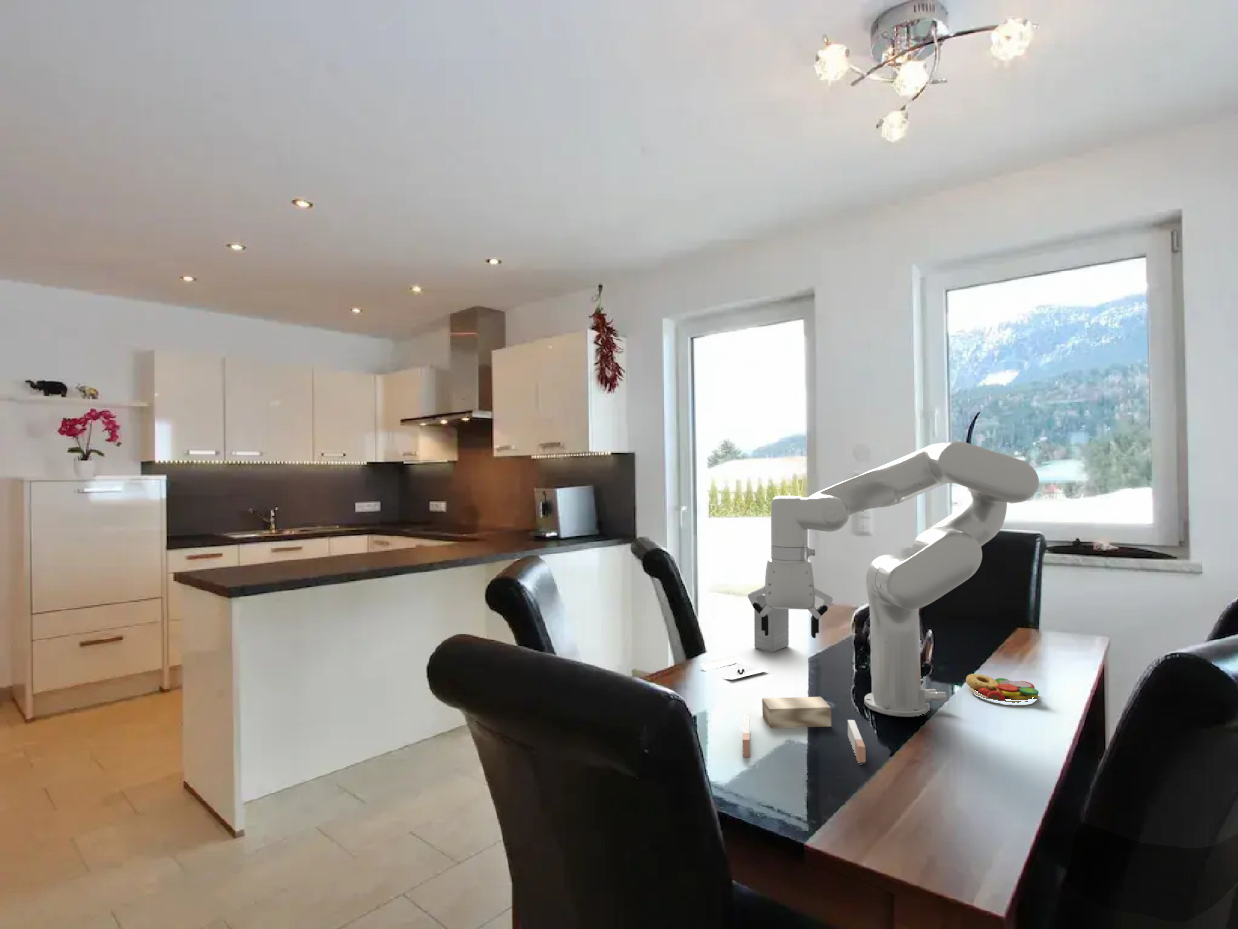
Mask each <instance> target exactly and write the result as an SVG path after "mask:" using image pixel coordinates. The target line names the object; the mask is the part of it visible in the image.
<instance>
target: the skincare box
mask: <svg viewBox="0 0 1238 929" xmlns="http://www.w3.org/2000/svg"><path fill="white" fill-rule="evenodd" d="M756 600H757V602H758V603H759V605H760V606H761V607H763V606H764V605H765V604H766V601H765V594H763V595H760V596H758V597H757V598H756ZM753 609H754V608H753ZM789 610H790V609H779V608H772V609H771V610H770V611H769V612H768V613H767V615H768V635H767V636H765V631H761V615H760V614H759V613H758V612H757V611H756V610H755V609H754V614H753V615H754V623H753V624H754V649H758V650H763V651H767V652H770V653H774V652H776V651H779V650H781V649H784V648H786V647H789V643H790V642H789V636H790V635H789V628H790V627H789V626H790V625H789V618H790V617H789V616H790V614H789Z"/></svg>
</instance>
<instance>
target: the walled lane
mask: <svg viewBox="0 0 1238 929" xmlns="http://www.w3.org/2000/svg"><path fill="white" fill-rule="evenodd" d="M750 717H751V716H750V714H746V713H745V714H743V717H742V718H743V720H742V757H744V758H751V749H750V748H751V720H750V719H751V718H750ZM847 737H848V740H849V742H851V743H850V746H851V745H852V746H851V748H852V751H853V750H854V751H853V754H854V753H855V754H854V756H856V757H855V759H856V762H857V761H858V762H857V764H858V763H860V762H866V761H867V760H866V759H867V758H866V745H865V743H864V740H863V737H862V735H861V732H860V731H859V728H858V725H857V723H856V720H855V719H847Z"/></svg>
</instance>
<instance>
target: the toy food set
mask: <svg viewBox="0 0 1238 929" xmlns="http://www.w3.org/2000/svg"><path fill="white" fill-rule="evenodd" d="M965 683H966V685H968V686H969V690H970V692H971V693H972V694H973V693H975V694H976V695H978V696H981V697H983V698H986V699H993V700H998V701H1005V702H1012V703H1015V702H1017V703H1019V702H1021V701H1006V700H1005V699H1011V700H1028V699H1032V697H1034V698H1033V699H1038V698H1040V696H1038V695H1039V693H1040V692H1039V690H1038V689H1035V688H1036V687H1035V685H1034V684H1033V683H1031V682H1028V681H1024V680H1011V679H1010V680H1009V679H1008V678H1003V677H998V678H996V679H994V678H992V677H990V676H988V675H985V674H980V673H970V674H968V675H967V676H966V678H965ZM975 690H976V691H978V693H977V692H976V691H975ZM979 693H980V694H979ZM981 694H982V695H981ZM1038 700H1039V699H1038ZM1025 702H1028V701H1025Z"/></svg>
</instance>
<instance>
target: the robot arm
mask: <svg viewBox="0 0 1238 929" xmlns="http://www.w3.org/2000/svg"><path fill="white" fill-rule="evenodd" d="M946 484H956V485H960V486H962V487H965V488H967V495H966V498H965V501H964V503H963V504H962V505H961V506H960V507H959V508H958V509H956V510H955V511H954V512H952V513H951V514H949V515H948V516H946V517H945V518H944V519H942V520H940V521H939V522H937V523H935V524H934V525H932V526H930V527H929V528H928V529H926V530H924V531H923V532H921V533H920V534H919V535H918V536H917V537H916V538H915V539H914V541H913V544H912V547H911V552H912V556H910V557H908V558H907V557H903V556H900V555H897V554H891V553H890V554H889V553H888V554H883V555H880V556H878V557H876V558H875V559H873V560H872V561H871V563H870V564H869V565H868V567H867V571H866V575H865V584H866V593H867V598H868V606H869V618H870V619H869V621H870V622H869V625H870V627H869V628H870V629H869V630H870V665H871V666H870V668H871V669H870V671H871V672H870V673H871V674H870V675H871V692H870V693H867V694H865V696H864V699H863V700H864V702H863V703H864V705H865V706H866V708H868V709H869V710H872V711H874V712H877V713H879V714H883V715H887V716H893V717H900V718H902V717H903V718H910V717H911V718H916V717H920V715H921V716H923V715H922V714H924V715H926V714H925V713H927V712H928V711H929V712H930V703H931V701H932V702H943V703H944V702H945V703H946V702H947V699H948V696H947V693H946V692H945V691H937V689H935V688H924V687H923V685H922V680H921V678H922V677H921V642H920V641H921V640H920V638H921V637H920V635H921V631H920V627H921V625H920V615H919V609H922V608H924V607H926V606H928V605H930V604H932V603H933V602H936V600H938V599H940V598H942V597H943V596H944V595H946V594H948V593H949V592H951V591H952V590H954V589H955V588H957V587H958V586H960V585H962V584H963V583H964V582H966V581H968V580H969V579H970V578H972V576H974V575H975V574H976V572H977V571H978V569H979V567H980V566H981V563H982V560H983V550H982V546H984V545H986V543H988V542H990V541H991V540H992V539H993V538H994V537H996V536H997V534H998V533H999V532H1000V531H1001V529H1002V528H1003V525H1004V523H1005V520H1006V514H1007V509H1008V508H1007V507H1008V504H1009V503H1011V504H1015V503H1017V504H1018V503H1023V502H1026V501H1027V500H1029V499H1031V498H1032V497H1033V496H1034V495H1035V494H1036V492H1038V488H1039V484H1040V479H1039V475H1038V473H1037V471H1036V470H1035V468H1034V467H1033V466H1032V465H1031V464H1030V463H1027V462H1026V461H1024V460H1021V459H1019V458H1016V457H1014V456H1013V457H1012V456H1010V455H1006V454H1003V453H999V452H997V451H994V450H990V449H987V448H985V447H981V446H979V445H976V444H972V443H969V442H965V441H960V440H959V441H958V440H957V441H956V440H955V441H954V440H953V441H943V442H936V443H933V444H929V445H927V446H925V447H923V448H921V449H918V450H916V451H913V452H911V453H910V454H907V455H904V456H902V457H899V458H898V459H895V460H892V461H891V462H889V463H886V464H884V465H881V466H879V467H877V468H874V469H870V470H868V471H866V472H864V473H862V474H860V475H856V476H854V477H852V478H848V479H846V480H844V481H841V482H839V483H836V484H834V485H832V486H829V487H827V488H825V489H822V490H820V491H817V492H815V493H813V494H812V495H809V497H804V496H799V495H777V496H775V497H773V498H772V499H771V503H770V539H771V540H770V543H771V544H770V546H771V547H770V551H771V554H770V556H771V557H770V558H769V559H767V561H766V568H765V577H764V578H765V580H764V586H762V587H760V588H757V589H756V590H754V591H751V592H750V593H748V594H747V598H748V599H749V602H750V604H751V605H752V607H753V609H755V610H756V611H757V612H758V613H759V614H760V615H761V631H765V636H767V635H768V615H767V613H768V612H769V611H770V610H771V609H772V608H779V609H789V610H808V611H809V612H810V614H811V616H810V634H811V638H813V639H816V638H817V635H816V634H819V633H820V619H821V617H822V616H823V615H824V614H825V613H827V611H828V610H829V608H830V606H831V604H832V602H833V596H831V595H830V594H827V593H826V592H823V591H822V590H820V589H818V588H816V587H815V577H814V572H813V571H814V570H813V569H814V568H813V563H812V560H809V558H810V557H812V556H814V557H815V556H816V549H813V548H810V547H809V546H808V545H809V541H808V540H809V539H808V538H809V536H808V535H809V530H812V531H820V532H826V533H828V532H829V533H831V532H837V531H838V530H841V529H842V528H844V527H845V526H846V525H847V523H848V521H849V519H850V516H851V515H853V514H856V513H859V512H862V511H867V510H869V509H870V510H872V509H877V508H887V507H891V506H895V505H898V504H902V503H904V502H905V501H908V500H910V499H913V498H915V497H917V496H919V495H922V494H924V493H926V492H930V491H932V490H934V489H936V488H939V487H941V486H943V485H946ZM763 594H765V601H766V604H765V605H764V606H763V607H761V606H760V605H759V603H758V602H757V600H756V598H757V597H758V596H760V595H763ZM816 597H818V598H820V599H821V600H823V602H822V604H821V605H820V606H819V607H818V608H816V606H815V604H816ZM929 712H928V713H929ZM928 713H927V714H928ZM915 716H916V717H915Z"/></svg>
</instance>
